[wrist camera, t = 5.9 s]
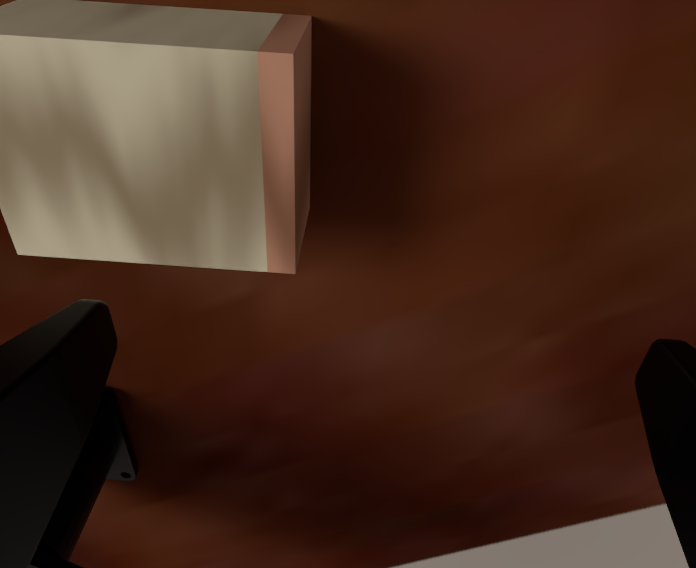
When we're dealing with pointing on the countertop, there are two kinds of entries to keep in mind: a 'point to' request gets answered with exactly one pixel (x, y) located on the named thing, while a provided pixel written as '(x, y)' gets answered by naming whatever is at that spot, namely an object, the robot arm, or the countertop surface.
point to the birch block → (155, 133)
